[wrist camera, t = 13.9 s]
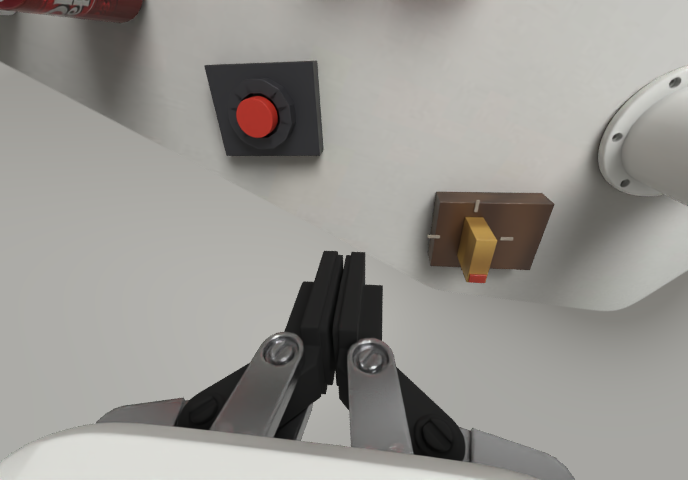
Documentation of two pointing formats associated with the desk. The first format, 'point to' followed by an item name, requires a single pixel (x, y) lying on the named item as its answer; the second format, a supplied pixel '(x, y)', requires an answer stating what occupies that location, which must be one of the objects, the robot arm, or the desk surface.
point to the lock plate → (490, 226)
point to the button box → (283, 92)
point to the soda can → (78, 8)
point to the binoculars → (6, 12)
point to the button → (257, 116)
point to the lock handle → (476, 249)
